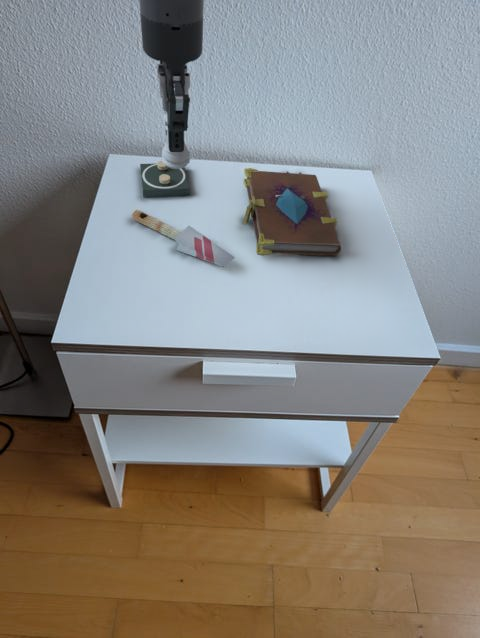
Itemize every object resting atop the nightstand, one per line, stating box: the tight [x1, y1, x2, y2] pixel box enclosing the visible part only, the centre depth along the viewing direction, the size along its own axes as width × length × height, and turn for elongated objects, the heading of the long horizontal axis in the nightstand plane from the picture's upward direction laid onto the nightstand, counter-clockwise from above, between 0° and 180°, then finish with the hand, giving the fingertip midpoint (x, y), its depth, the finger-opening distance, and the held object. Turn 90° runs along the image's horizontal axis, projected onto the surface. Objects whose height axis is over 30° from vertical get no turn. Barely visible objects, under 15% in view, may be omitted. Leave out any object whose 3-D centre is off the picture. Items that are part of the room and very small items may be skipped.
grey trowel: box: [131, 209, 236, 268], centre depth 71 cm, size 4×3×20 cm
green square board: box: [139, 162, 190, 198], centre depth 81 cm, size 8×8×2 cm
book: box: [242, 167, 342, 257], centre depth 78 cm, size 16×25×5 cm, turn 6°
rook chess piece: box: [160, 111, 191, 169], centre depth 64 cm, size 4×4×8 cm
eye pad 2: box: [159, 174, 170, 184], centre depth 79 cm, size 2×2×1 cm
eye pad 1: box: [157, 160, 168, 170], centre depth 82 cm, size 2×2×1 cm
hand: (174, 143), depth 65 cm, fingers closed on rook chess piece, 3 cm apart
